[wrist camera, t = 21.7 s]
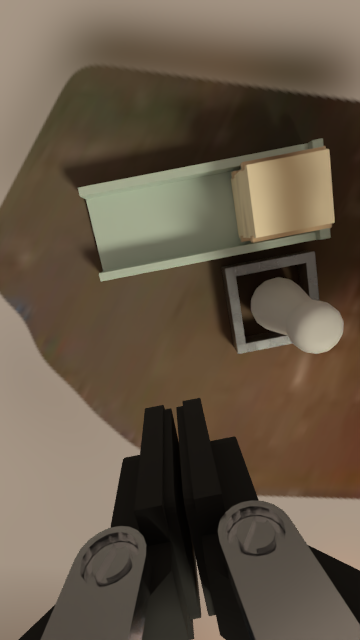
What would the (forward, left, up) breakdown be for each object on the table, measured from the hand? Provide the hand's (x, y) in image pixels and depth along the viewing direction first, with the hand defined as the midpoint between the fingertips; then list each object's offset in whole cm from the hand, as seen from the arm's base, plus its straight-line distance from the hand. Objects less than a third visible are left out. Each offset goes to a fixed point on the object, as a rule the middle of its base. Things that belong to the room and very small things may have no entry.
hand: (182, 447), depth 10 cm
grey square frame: (-11, +3, -29) cm, 31 cm away
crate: (-12, -7, -29) cm, 32 cm away
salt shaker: (-11, +3, -29) cm, 32 cm away
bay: (-5, -7, -29) cm, 30 cm away
